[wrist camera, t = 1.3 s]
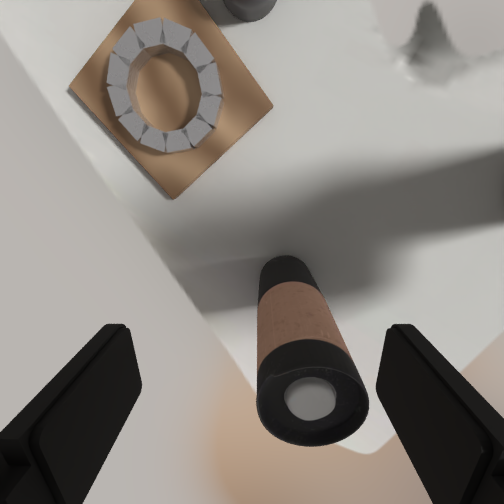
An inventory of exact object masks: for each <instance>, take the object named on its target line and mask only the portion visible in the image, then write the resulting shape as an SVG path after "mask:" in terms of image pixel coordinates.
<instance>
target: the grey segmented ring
mask: <svg viewBox="0 0 504 504" xmlns="http://www.w3.org/2000/svg"><path fill="white" fill-rule="evenodd" d="M133 25H134V29H135V31H134V30H133V29H132V28H131V27H129V28H128V29H127V30H126V32H125V33H124V34H123V35H122V37H121V38H120V39H119V41H118V42H117V43H116V44H115V46H114V47H113V48H112V49H113V50H114V51H115V53H116V54H117V55H116V54H113V53H110V60H109V68H108V75H107V83H108V84H110V85H112V86H109V87H107V89H108V92H109V95H110V98H111V102H112V105H113V108H114V111H115V114H116V116H117V117H120V118H119V119H118V120H119V121H120V122H121V124H122V125H123V126H124V127H125V128H126V129H127V130H128V131H129V132H130V134H131V135H132V136H133V137H134V138H135V139H136V140H137V141H139V142H140V143H141V144H144V145H146V146H149V147H152V148H154V149H157V150H159V151H162V152H165V153H179V152H184V151H189V150H194V149H195V147H197V148H199V147H200V146H201V145H202V144H203V143H204V142H205V141H206V140H207V139H208V138H209V137H210V136H211V135H212V134H213V133H214V132H215V130H214V129H213V128H212V127H215V128H217V127H218V123H219V120H220V116H221V112H222V109H223V105H224V101H223V100H222V99H224V94H223V88H222V83H221V77H220V72H219V68H218V66H217V64H216V61H215V59H214V57H213V56H212V55H211V53H210V52H209V51H208V49H207V48H206V47H205V45H204V44H203V42H202V41H201V40H200V38H199V37H198V36H197V34H196V33H193V31H192V29H189V28H187V27H185V26H182V25H180V24H178V23H175V22H173V21H171V20H168V19H166V18H164V21H162V19H161V18H160V17H159V18H155V19H151V20H147V21H143V22H139V23H135V24H133ZM167 53H172V54H174V55H176V56H179V57H181V58H184V59H186V60H188V61H189V62H190V63H191V64H192V66H193V67H194V68H195V70H196V71H197V73H198V78H199V82H200V87H201V92H202V96H201V100H200V103H199V107H198V111H197V115H196V116H195V117H194V118H193V119H192V120H191V121H190V122H189V123H188V124H187V125H186V126H185V127H184V128H183V129H179V130H174V131H169V132H164V131H161V130H159V129H156V128H154V126H153V125H152V124H151V123H150V122H149V121H148V120H147V118H146V117H145V116H144V115H143V114H142V112H141V109H140V105H139V102H138V98H137V95H136V88H137V83H138V77H139V72H140V70H141V69H142V68H143V67H144V66H145V65H146V63H147V62H148V61H149V60H150V59H151V58H152V57H154V56H159V55H163V54H167ZM211 126H212V127H211Z"/></svg>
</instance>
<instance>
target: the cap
mask: <svg viewBox="0 0 504 504" xmlns="http://www.w3.org/2000/svg"><path fill="white" fill-rule="evenodd" d="M223 1H224V3H225V5H226V7H227V8H228V10H229V11H230V12H231V13H232V14H233V15H234V16H235V17H236V18H238V19H240V20H242V21H246V22H254V21H258V20H260V19H262V18H264V17H265V16H266V15H267V14H268V13H269V12H270V11H271V10H272V8H273V7H274V5H275V3H276V1H277V0H223Z"/></svg>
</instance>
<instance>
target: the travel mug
mask: <svg viewBox="0 0 504 504" xmlns="http://www.w3.org/2000/svg"><path fill="white" fill-rule="evenodd" d="M256 400H257V401H256V404H257V411H258V415H259V418H260V420H261V422H262V424H263V426H264V427H265V428H266V429H267V430H268V431H269V432H270V433H271V434H272V435H274V436H275V437H277V438H278V439H280V440H283V441H285V442H287V443H290V444H294V445H299V446H309V447H314V446H324V445H329V444H333V443H336V442H339V441H341V440H343V439H345V438H347V437H349V436H350V435H352V434H353V433H354V432H356V431H357V430H358V429H359V428H360V426H361V425H362V424H363V423H364V421H365V419H366V417H367V414H368V410H369V398H368V394H367V391H366V388H365V386H364V384H363V381H362V379H361V377H360V375H359V373H358V371H357V368H356V366H355V364H354V362H353V360H352V358H351V355H350V353H349V351H348V349H347V347H346V344H345V342H344V340H343V338H342V336H341V334H340V331H339V329H338V327H337V325H336V323H335V320H334V318H333V316H332V314H331V312H330V310H329V307H328V305H327V303H326V301H325V299H324V297H323V295H322V293H321V291H320V290H319V288H318V286H317V284H316V282H315V281H314V279H313V277H312V275H311V273H310V271H309V270H308V268H307V266H306V265H305V264H304V263H303V262H302V261H301V260H299V259H297V258H295V257H292V256H279V257H276V258H274V259H272V260H270V261H269V262H268V263H267V264H266V265H265V266H264V268H263V269H262V272H261V275H260V284H259V296H258V310H257V398H256Z"/></svg>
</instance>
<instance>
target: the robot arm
mask: <svg viewBox="0 0 504 504" xmlns="http://www.w3.org/2000/svg"><path fill="white" fill-rule="evenodd" d="M141 389H142V381H141V377H140V372H139V368H138V363H137V359H136V354H135V350H134V346H133V341H132V337H131V332H130V329H129V328H126V326H125V325H124V324H106V325H105V326H103V327H102V328H101V329H100V330H99V331H98V333H96V335H95V336H94V337H93V338H92V339H91V340H90V341H89V342H88V343H87V344H86V345H85V346H84V347H83V348H82V349H81V350H80V351H79V352H78V353H77V354H76V355H75V356H74V357H73V358H72V359H71V360H70V361H69V362H68V363H67V364H66V365H65V366H64V367H63V368H62V370H60V372H59V373H58V374H57V375H56V376H55V377H54V378H53V379H52V380H51V381H50V382H49V383H48V384H47V385H46V386H45V387H44V388H43V389H42V390H41V391H40V392H39V393H38V394H37V395H36V396H35V397H34V398H33V399H32V400H31V401H30V402H29V403H28V404H27V405H26V406H25V408H24V409H23V410H22V411H21V412H20V413H19V414H18V415H17V416H16V417H15V418H14V419H13V420H12V421H11V422H10V423H9V424H8V425H7V426H6V427H5V428H4V429H3V430H2V431H1V432H0V504H83V502H84V500H85V498H86V496H87V494H88V492H89V490H90V488H91V486H92V485H93V483H94V481H95V479H96V477H97V475H98V473H99V471H100V469H101V467H102V465H103V464H104V462H105V460H106V458H107V456H108V454H109V452H110V450H111V448H112V446H113V444H114V443H115V441H116V439H117V437H118V435H119V433H120V431H121V429H122V427H123V425H124V423H125V421H126V420H127V418H128V416H129V414H130V412H131V410H132V408H133V406H134V404H135V402H136V401H137V399H138V396H139V395H140V393H141ZM376 392H377V395H378V398H379V400H380V402H381V404H382V405H383V407H384V409H385V411H386V413H387V415H388V417H389V419H390V421H391V423H392V425H393V427H394V429H395V431H396V433H397V434H398V437H399V439H400V440H401V442H402V444H403V446H404V448H405V450H406V452H407V454H408V456H409V458H410V460H411V462H412V464H413V466H414V468H415V469H416V471H417V474H418V475H419V477H420V479H421V481H422V483H423V485H424V487H425V489H426V491H427V493H428V495H429V497H430V499H431V501H432V503H433V504H504V418H503V417H502V416H501V415H500V414H499V413H498V412H497V411H496V410H495V409H494V408H493V407H492V406H491V405H490V404H489V403H488V402H487V401H486V400H485V399H484V398H483V397H482V396H481V395H480V394H479V393H478V392H477V391H476V389H475V388H474V387H473V386H471V384H470V383H469V382H468V381H467V380H466V379H465V378H464V377H463V376H462V375H461V374H460V373H459V372H458V371H457V370H456V369H455V368H454V367H453V366H452V365H451V364H450V363H449V362H448V361H447V359H446V358H445V357H444V356H443V355H442V354H441V353H440V352H439V351H438V350H437V349H436V348H435V347H434V346H433V345H432V344H431V343H430V342H429V341H428V340H427V339H426V338H425V337H424V336H423V335H422V334H421V333H420V332H419V331H418V330H417V328H416V327H415V326H413V325H411V324H393V325H392V326H391V328H389V329H387V331H386V336H385V341H384V346H383V351H382V356H381V361H380V366H379V372H378V377H377V382H376Z"/></svg>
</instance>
